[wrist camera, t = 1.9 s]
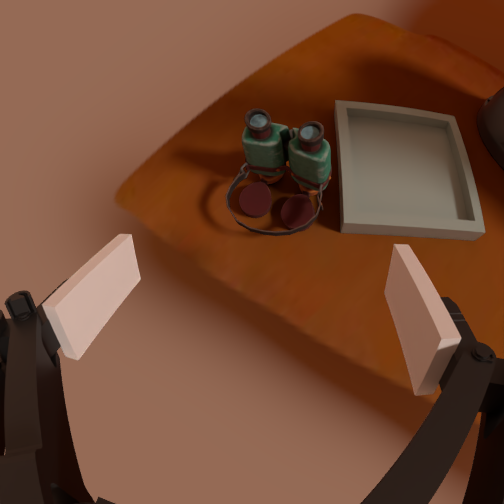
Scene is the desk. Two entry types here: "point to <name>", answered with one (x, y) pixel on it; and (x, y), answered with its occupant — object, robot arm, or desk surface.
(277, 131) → the binoculars
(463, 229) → the tray
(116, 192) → the desk surface
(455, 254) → the desk surface
